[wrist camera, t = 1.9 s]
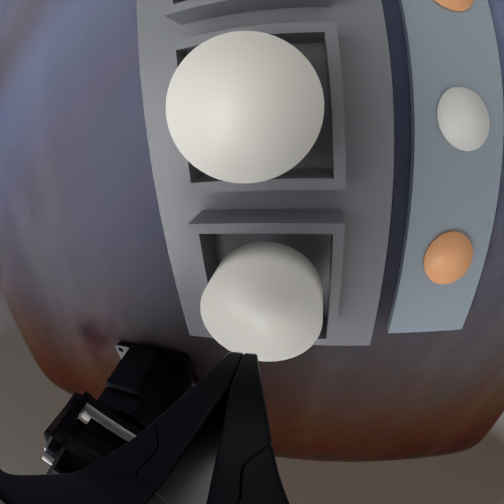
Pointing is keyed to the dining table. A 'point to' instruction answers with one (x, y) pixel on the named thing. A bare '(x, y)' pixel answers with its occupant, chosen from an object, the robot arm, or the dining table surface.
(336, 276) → the button board
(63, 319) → the dining table surface
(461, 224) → the pattern card
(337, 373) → the dining table surface
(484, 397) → the dining table surface
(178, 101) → the button middle
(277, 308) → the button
